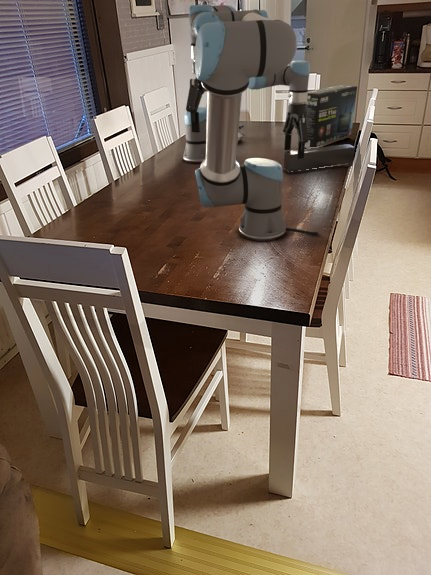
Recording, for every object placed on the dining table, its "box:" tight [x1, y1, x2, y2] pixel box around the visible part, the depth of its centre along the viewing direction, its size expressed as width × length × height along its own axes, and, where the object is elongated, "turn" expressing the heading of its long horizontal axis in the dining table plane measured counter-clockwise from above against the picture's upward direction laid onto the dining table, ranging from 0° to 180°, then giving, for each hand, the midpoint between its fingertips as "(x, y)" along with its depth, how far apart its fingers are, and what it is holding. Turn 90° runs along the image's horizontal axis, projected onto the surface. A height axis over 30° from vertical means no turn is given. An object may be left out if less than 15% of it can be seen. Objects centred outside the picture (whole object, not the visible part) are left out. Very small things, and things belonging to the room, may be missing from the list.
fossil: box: [238, 129, 246, 142], centre depth 254 cm, size 18×11×15 cm
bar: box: [283, 143, 356, 175], centre depth 205 cm, size 31×6×8 cm, turn 106°
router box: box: [297, 84, 358, 147], centre depth 238 cm, size 36×11×27 cm, turn 134°
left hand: (293, 154), depth 201 cm, fingers open, 13 cm apart
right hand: (206, 128), depth 160 cm, fingers open, 13 cm apart
